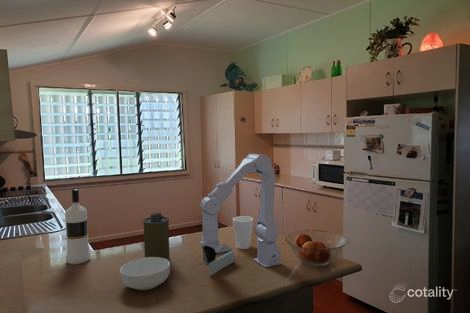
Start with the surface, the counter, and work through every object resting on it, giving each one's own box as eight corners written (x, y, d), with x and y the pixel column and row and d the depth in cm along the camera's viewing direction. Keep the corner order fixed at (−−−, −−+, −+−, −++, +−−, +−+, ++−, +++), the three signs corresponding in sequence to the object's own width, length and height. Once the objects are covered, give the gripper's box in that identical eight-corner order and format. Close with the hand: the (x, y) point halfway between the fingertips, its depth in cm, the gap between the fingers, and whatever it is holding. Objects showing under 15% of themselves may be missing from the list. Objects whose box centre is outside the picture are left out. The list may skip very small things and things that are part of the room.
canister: (164, 266, 133) (162, 216, 132) (139, 265, 135) (137, 215, 134) (174, 256, 144) (173, 210, 142) (151, 255, 146) (150, 209, 144)
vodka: (63, 266, 135) (59, 191, 133) (69, 257, 144) (65, 188, 142) (88, 263, 137) (85, 190, 135) (92, 255, 146) (89, 186, 144)
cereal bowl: (151, 271, 129) (150, 253, 129) (180, 283, 119) (180, 263, 118) (110, 287, 116) (109, 267, 116) (139, 302, 106) (138, 280, 105)
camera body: (233, 261, 137) (233, 248, 137) (210, 266, 133) (210, 252, 132) (225, 255, 145) (224, 242, 144) (203, 259, 140) (202, 246, 140)
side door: (234, 261, 137) (234, 250, 136) (210, 275, 124) (210, 263, 124) (232, 260, 137) (232, 250, 137) (209, 274, 124) (208, 262, 124)
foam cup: (253, 250, 150) (253, 221, 149) (232, 250, 151) (232, 221, 150) (252, 243, 160) (252, 216, 159) (233, 243, 160) (233, 216, 159)
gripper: (193, 226, 131) (194, 260, 132) (207, 236, 118) (208, 274, 119) (210, 223, 134) (211, 256, 135) (225, 233, 121) (226, 270, 122)
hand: (210, 264), depth 127 cm, fingers closed
